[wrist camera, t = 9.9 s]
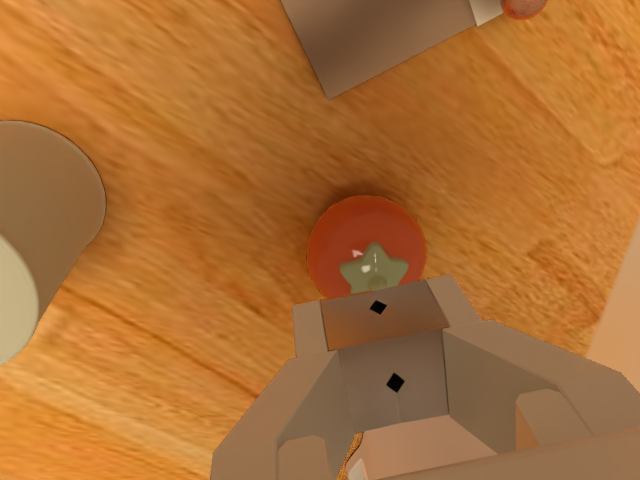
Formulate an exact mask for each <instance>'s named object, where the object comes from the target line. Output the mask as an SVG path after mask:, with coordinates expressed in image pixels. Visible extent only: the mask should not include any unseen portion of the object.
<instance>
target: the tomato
mask: <svg viewBox="0 0 640 480" xmlns="http://www.w3.org/2000/svg"><path fill="white" fill-rule="evenodd" d="M306 260H307V265H308V270H309V274H310V277H311V279H312V281H313V282H314V284H315V286H316V287H317V289H318V290H319V292H320V293H321V294H322V295H323V296H324V297H326V298H332V297H337V296H343V295H349V294H354V293H360V292H366V291H371V290H372V291H375V290H380V289H384V288H389V287H393V286H397V285H402V284H406V283H411V282H415V281H419V280H420V278H421V277H422V274H423V271H424V267H425V264H426V260H427V250H426V240H425V237H424V234H423V232H422V230H421V228H420V226H419V224H418V222H417V220H416V219H415V218H414V217H413V216H412V215H411V214H410V213H409V212H408V211H406V210H405V209H404V208H403V207H402V206H401V205H400V204H398V203H396V202H394V201H391V200H389V199H387V198H384V197H381V196H373V195H363V194H361V195H356V196H351V197H347V198H344V199H342V200H341V201H339V202H337V203H335V204H333V205H331V206H330V207H329V208H328V209H327V210H326V211H325V212H324V213H323V214H322V215H321V216H320V218H319V219H318V220H317V222H316V224H315V226H314V228H313V230H312V231H311V233H310V236H309V242H308V249H307V256H306Z"/></svg>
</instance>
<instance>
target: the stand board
mask: <svg viewBox="0 0 640 480" xmlns="http://www.w3.org/2000/svg"><path fill="white" fill-rule="evenodd" d="M280 1H281V3H282V5H283V7H284V9H285V11H286V13H287V15H288V17H289V20H290V22H291V24H292V26H293V28H294V30H295V32H296V34H297V36H298V38H299V40H300V43H301V45H302V47H303V49H304V51H305V53H306V55H307V57H308V59H309V61H310V63H311V66H312V68H313V70H314V72H315V74H316V76H317V78H318V80H319V82H320V84H321V86H322V88H323V91H324V93H325V95H326V97H327V99H328V100H330V99H332V98H334V97H336V96H338V95H340V94H342V93H344V92H346V91H348V90H350V89H351V88H353V87H355V86H357V85H359V84H361V83H363V82H365V81H367V80H369V79H371V78H373V77H375V76H377V75H379V74H380V73H382V72H384V71H386V70H388V69H390V68H392V67H394V66H396V65H398V64H400V63H402V62H404V61H406V60H408V59H410V58H411V57H413V56H415V55H417V54H419V53H421V52H423V51H425V50H427V49H429V48H431V47H433V46H435V45H437V44H439V43H440V42H442V41H444V40H446V39H448V38H450V37H452V36H454V35H456V34H458V33H460V32H462V31H464V30H466V29H468V28H469V27H471V26H473V25H475V24H476V26H479V25H481V24H483V23H485V22H487V21H489V20H491V19H493V18H495V17H497V16H499V15H501V14H502V13H504V12H503V10H502V8H501V6H500V2H499V0H280Z"/></svg>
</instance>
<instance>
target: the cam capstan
mask: <svg viewBox="0 0 640 480" xmlns="http://www.w3.org/2000/svg"><path fill="white" fill-rule="evenodd" d="M547 1H548V0H499V2H500V6H501V8H502V10H503V12H504V13H505V14H506V15H507V16H509V17H510V18H512V19H515V20H526V19H530V18H532V17H534V16H536V15H537V14H538V13H540V12H541V11H542V9H543V8H544V7H545V5H546V3H547Z"/></svg>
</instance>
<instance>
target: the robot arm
mask: <svg viewBox="0 0 640 480" xmlns="http://www.w3.org/2000/svg"><path fill="white" fill-rule="evenodd" d="M320 303H321V305H320ZM321 309H322V310H321ZM292 316H293V328H294V340H295V353H296V358H293V359H289V360H288V361H287V362H286V363H285V364H284V365H283V367H282V368H281V369H280V370H279V372H278V373H277V374H276V375H275V377H274V378H273V379H272V380H271V382H270V383H269V384H268V385H267V387H266V388H265V389H264V390H263V392H262V393H261V394H260V395H259V396H258V398H257V399H256V400H255V401H254V403H253V404H252V405H251V406H250V408H249V409H248V410H247V411H246V413H245V414H244V415H243V416H242V418H241V419H240V420H239V421H238V423H237V424H236V425H235V426H234V428H233V429H232V430H231V431H230V432H229V434H228V435H227V436H226V437H225V439H224V440H223V441H222V442H221V444H220V445H219V446H218V447H217V449H216V450H215V451H214V452H213V458H212V466H211V475H210V480H336V478H337V476H338V473H339V471H340V469H341V467H342V464H343V462H344V460H345V457H346V455H347V453H348V450H349V448H350V446H351V443H352V441H353V439H354V434H355V433H360V432H364V434H363V439H362V442H361V445H360V447H359V448H358V449H357V450H356V451H355V453H354V454H353V455H352V456H351V458H350V459H349V460H348V462H347V464H346V467H345V470H346V474H347V477H348V480H640V393H639V392H638V391H637V390H636V389H635V388H634V387H633V385H632V384H631V383H630V382H629V381H628V380H627V379H626V378H625V377H624V376H623V375H622V373H621V372H618V371H616V370H613V369H611V368H608V367H606V366H604V365H601V364H598V363H596V362H594V361H591V360H589V359H586V358H584V357H582V356H579V355H577V354H574V353H572V352H569V351H567V350H564V349H562V348H559V347H557V346H555V345H552V344H550V343H547V342H545V341H542V340H540V339H537V338H535V337H532V336H530V335H528V334H525V333H523V332H520V331H518V330H515V329H513V328H510V327H508V326H505V325H503V324H501V323H498V322H496V321H493V320H491V319H490V320H485V321H482V319H481V318H480V316H479V315H478V313H477V311H476V310H475V308H474V307H473V305H472V304H471V302H470V301H469V299H468V298H467V296H466V295H465V293H464V292H463V290H462V289H461V287H460V285H459V284H458V282H457V281H456V279H455V278H454V276H453V275H451V274H445V275H441V276H436V277H432V278H428V279H424V280H420V281H415V282H411V283H406V284H402V285H397V286H393V287H389V288H384V289H380V290H375V291H372V290H371V291H366V292H360V293H354V294H349V295H343V296H337V297H332V298H326V299H321V300H320V301H319V300H314V301H309V302H304V303H300V304H295V305H293V307H292Z"/></svg>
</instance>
